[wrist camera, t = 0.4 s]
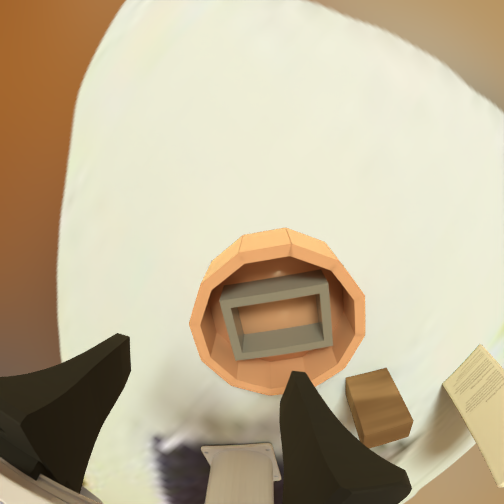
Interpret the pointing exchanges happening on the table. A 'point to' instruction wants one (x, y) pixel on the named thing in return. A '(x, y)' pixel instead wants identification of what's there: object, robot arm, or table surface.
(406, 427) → the wooden rectangular peg
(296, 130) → the table surface
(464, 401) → the skincare box
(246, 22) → the table surface
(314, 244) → the faceted orange bowl
